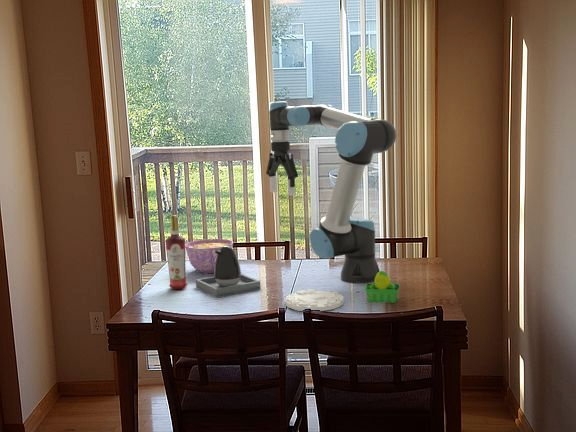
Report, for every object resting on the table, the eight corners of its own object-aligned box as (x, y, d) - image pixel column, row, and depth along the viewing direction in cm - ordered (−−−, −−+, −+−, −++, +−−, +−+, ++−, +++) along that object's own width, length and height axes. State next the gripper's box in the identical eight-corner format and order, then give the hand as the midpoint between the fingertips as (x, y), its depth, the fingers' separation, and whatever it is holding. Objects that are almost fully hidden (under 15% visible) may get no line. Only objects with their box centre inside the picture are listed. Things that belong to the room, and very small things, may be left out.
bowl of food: (228, 276, 292) (226, 248, 290) (180, 276, 295) (178, 248, 294) (239, 265, 311) (238, 238, 309) (194, 265, 315) (193, 238, 313)
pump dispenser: (208, 286, 274) (206, 247, 271) (228, 280, 281) (226, 242, 279) (227, 290, 267) (224, 250, 265) (247, 284, 275) (245, 245, 272)
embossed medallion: (350, 310, 242) (350, 301, 241) (293, 316, 238) (292, 307, 237) (334, 294, 261) (333, 286, 261) (280, 299, 257) (280, 291, 256)
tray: (260, 288, 271) (260, 281, 271) (216, 297, 262) (216, 289, 262) (238, 279, 287) (237, 272, 286) (196, 287, 278) (195, 279, 277)
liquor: (168, 291, 273) (163, 218, 268) (168, 286, 280) (163, 214, 275) (188, 290, 274) (183, 216, 269) (187, 285, 281) (183, 213, 277)
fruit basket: (400, 297, 252) (399, 266, 250) (398, 305, 244) (397, 272, 242) (367, 297, 255) (366, 265, 253) (364, 304, 246) (363, 272, 244)
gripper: (256, 140, 298) (258, 192, 302) (289, 142, 277) (291, 197, 281) (272, 139, 302) (274, 190, 306) (305, 141, 281) (307, 195, 285)
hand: (282, 193), depth 293 cm, fingers open, 13 cm apart
